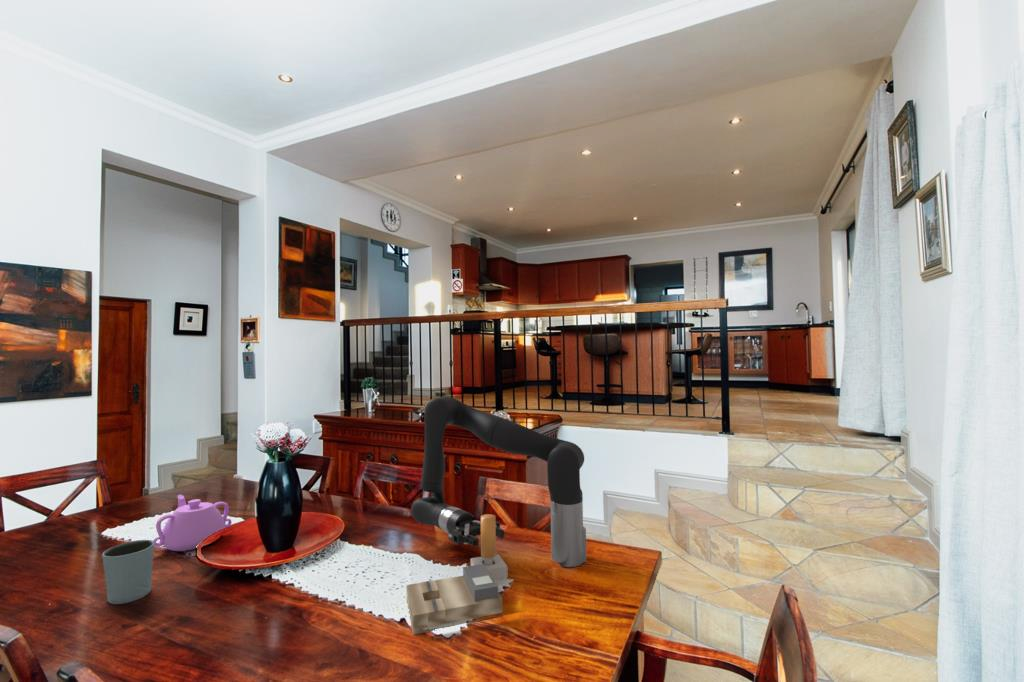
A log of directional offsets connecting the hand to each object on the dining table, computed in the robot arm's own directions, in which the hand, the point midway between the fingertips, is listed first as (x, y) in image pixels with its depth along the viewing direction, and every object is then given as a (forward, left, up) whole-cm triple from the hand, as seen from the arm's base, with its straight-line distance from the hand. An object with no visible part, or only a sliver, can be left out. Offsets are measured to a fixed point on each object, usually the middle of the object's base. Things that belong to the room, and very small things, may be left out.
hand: (490, 538), depth 124 cm
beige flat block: (+12, +11, -11) cm, 20 cm away
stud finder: (+6, +11, -7) cm, 14 cm away
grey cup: (+88, -23, -11) cm, 92 cm away
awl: (0, -1, -10) cm, 10 cm away
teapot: (+85, -57, -11) cm, 103 cm away
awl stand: (0, -1, -11) cm, 11 cm away
